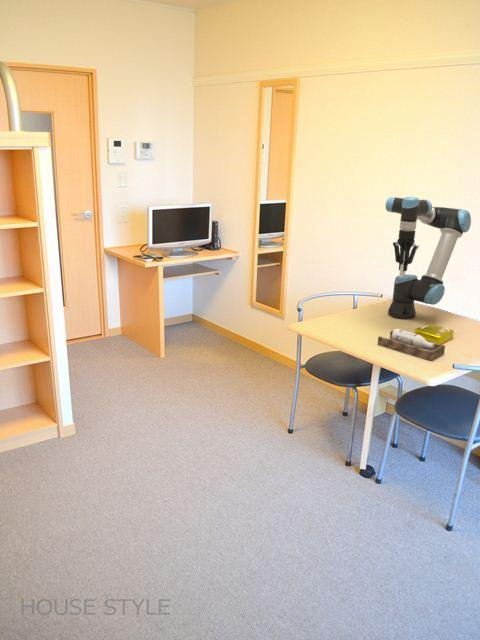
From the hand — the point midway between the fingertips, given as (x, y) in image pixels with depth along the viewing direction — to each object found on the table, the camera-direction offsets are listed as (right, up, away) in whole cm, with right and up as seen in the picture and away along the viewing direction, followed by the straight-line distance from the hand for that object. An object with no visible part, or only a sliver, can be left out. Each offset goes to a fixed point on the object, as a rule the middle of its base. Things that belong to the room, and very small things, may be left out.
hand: (401, 276), depth 269 cm
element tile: (+17, -31, +4) cm, 35 cm away
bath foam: (-6, -29, -6) cm, 30 cm away
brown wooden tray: (0, -35, -12) cm, 37 cm away
